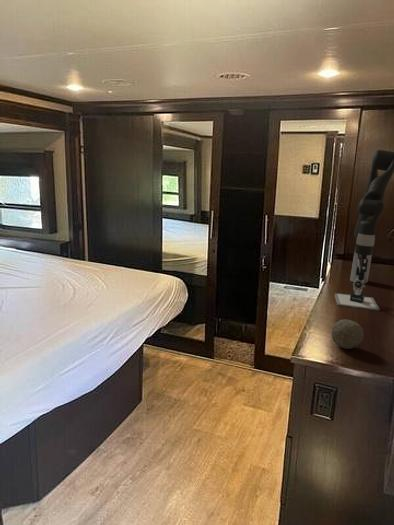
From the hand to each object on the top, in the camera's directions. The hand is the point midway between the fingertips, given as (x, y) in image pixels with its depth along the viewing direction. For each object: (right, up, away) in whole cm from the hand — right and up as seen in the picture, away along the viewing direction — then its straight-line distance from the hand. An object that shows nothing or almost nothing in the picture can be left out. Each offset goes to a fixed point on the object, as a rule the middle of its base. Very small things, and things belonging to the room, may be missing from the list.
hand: (359, 277), depth 185 cm
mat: (-1, -12, +3) cm, 12 cm away
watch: (0, -11, +2) cm, 12 cm away
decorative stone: (-25, -23, -48) cm, 58 cm away
